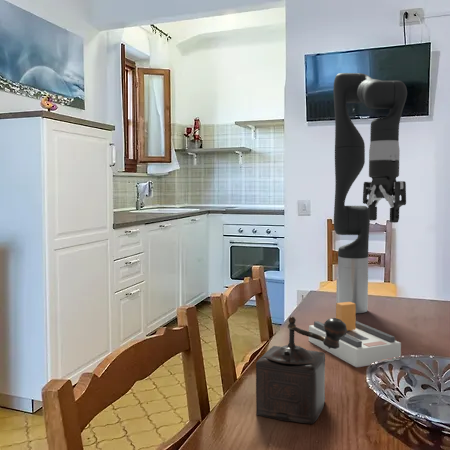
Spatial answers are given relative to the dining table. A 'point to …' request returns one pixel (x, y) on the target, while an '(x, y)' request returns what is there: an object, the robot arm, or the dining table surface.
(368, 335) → the breaker panel
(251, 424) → the dining table surface
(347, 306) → the block
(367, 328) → the pair of grey rails
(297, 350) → the manual coffee grinder
